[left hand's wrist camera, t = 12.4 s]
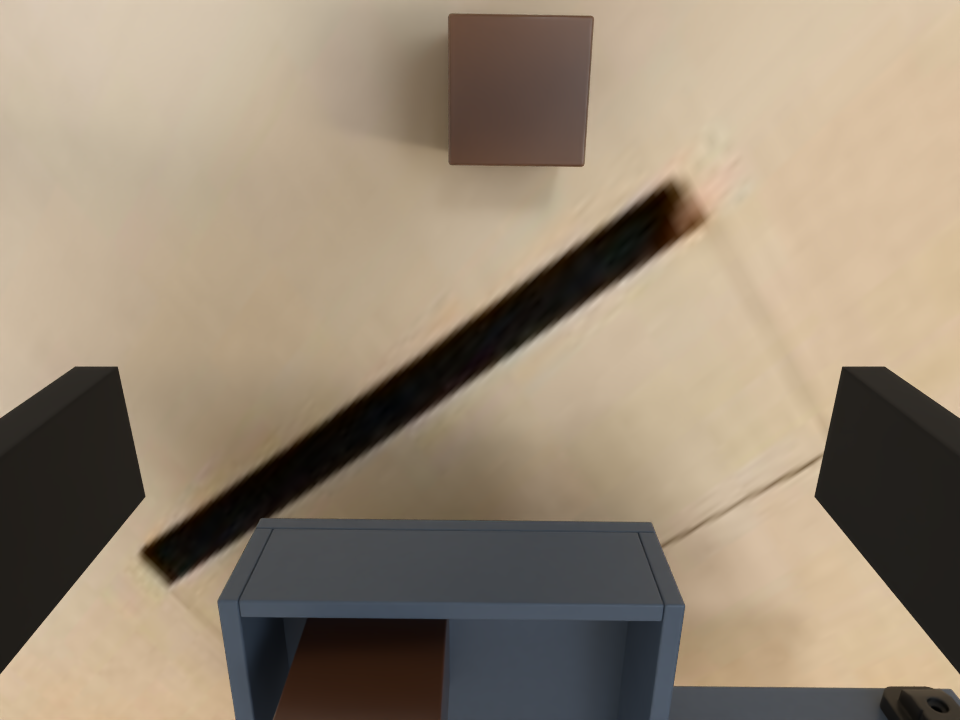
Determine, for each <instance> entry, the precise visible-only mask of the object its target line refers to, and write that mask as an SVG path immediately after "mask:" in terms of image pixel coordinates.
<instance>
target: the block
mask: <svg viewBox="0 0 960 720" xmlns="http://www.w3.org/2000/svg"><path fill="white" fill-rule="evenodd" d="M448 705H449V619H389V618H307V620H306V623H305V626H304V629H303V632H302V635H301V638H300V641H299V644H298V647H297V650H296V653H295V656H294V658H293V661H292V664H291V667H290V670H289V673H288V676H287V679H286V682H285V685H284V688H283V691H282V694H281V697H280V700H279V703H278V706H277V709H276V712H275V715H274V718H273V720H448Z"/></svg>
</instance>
